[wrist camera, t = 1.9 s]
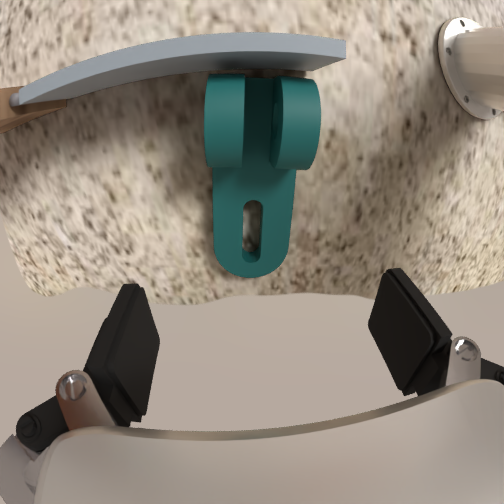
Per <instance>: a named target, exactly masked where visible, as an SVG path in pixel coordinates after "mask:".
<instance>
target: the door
mask: <svg viewBox="0 0 504 504" xmlns="http://www.w3.org/2000/svg"><path fill="white" fill-rule="evenodd" d="M343 59H346V41H345V40H339V39H333V38H326V37H319V36H310V35H300V34H287V33H264V32H242V33H219V34H206V35H196V36H188V37H180V38H173V39H167V40H161V41H156V42H151V43H146V44H141V45H137V46H133V47H129V48H125V49H121V50H117V51H113V52H110V53H107V54H103V55H100V56H97V57H94V58H91V59H88V60H85V61H82V62H79V63H77V64H74V65H71V66H69V67H66V68H64V69H61V70H59V71H56V72H54V73H52V74H49V75H47V76H45V77H43V78H41V79H39V80H36V81H34V82H32V83H30V84H28V85H26V86H24V87H23V88H21V89H19V93H13V94H12V95H11V96H10V99H9V105H10V106H11V107H13V106H19V105H24V104H30V103H37V102H44V101H53V100H62V99H69V98H75V97H78V96H81V95H84V94H88V93H91V92H94V91H98V90H101V89H105V88H109V87H113V86H117V85H121V84H125V83H130V82H135V81H139V80H145V79H150V78H156V77H162V76H168V75H175V74H183V73H191V72H201V71H213V70H230V69H285V70H302V71H314V70H316V69H319V68H321V67H324V66H327V65H329V64H332V63H335V62H338V61H340V60H343Z"/></svg>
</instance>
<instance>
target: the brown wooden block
mask: <svg viewBox="0 0 504 504" xmlns="http://www.w3.org/2000/svg"><path fill="white" fill-rule="evenodd" d="M23 87H24V86H20V87H10V88H2V89H0V134H1V133H4V132H7V131H9V130H11V129H13V128H15V127H17V126H19V125H21V124H24V123H26V122H28V121H31V120H33V119H35V118H38V117H40V116H43V115H45V114H48V113H51V112H53V111H56V110H59V109H62V108H65V107H66V99H62V100H53V101H44V102H37V103H30V104H24V105H19V106H13V107H11V106H10V105H9V99H10V96H11V95H12V94H13V93H19V89H21V88H23Z"/></svg>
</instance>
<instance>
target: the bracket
mask: <svg viewBox="0 0 504 504" xmlns="http://www.w3.org/2000/svg"><path fill="white" fill-rule="evenodd" d="M320 126H321V105H320V96H319V91H318V88H317V85H316V83H315V82H314V80H312V79H306V78H298V77H288V76H277V77H275V78H274V79H269V78H248V77H245V74H209V77H208V80H207V86H206V94H205V108H204V143H205V155H206V162H207V166H208V167H212V181H213V232H214V251H215V255H216V258H217V260H218V261H219V263H220V264H221V265H222V267H223V268H225V269H226V270H227V271H229V272H230V273H232V274H234V275H237V276H240V277H246V278H255V277H261V276H264V275H267V274H269V273H271V272H272V271H274V270H275V269H277V268H278V267H279V266H280V265H281V264H282V262H283V261H284V259H285V257H286V255H287V252H288V247H289V238H290V229H291V219H292V210H293V200H294V190H295V179H296V170H308V169H309V168H310V166H311V165H312V163H313V161H314V158H315V155H316V151H317V147H318V142H319V136H320ZM250 200H257V201H259V202H260V203H261V217H260V235H259V247H258V248H257V250H255V251H253V252H247V251H245V250H244V249H243V248H242V240H243V208H244V205H245V204H246V203H247V202H248V201H250Z"/></svg>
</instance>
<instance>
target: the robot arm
mask: <svg viewBox="0 0 504 504" xmlns="http://www.w3.org/2000/svg"><path fill="white" fill-rule="evenodd" d="M438 52H439V58H440V64H441V67H442V71H443V74H444V77H445V79H446V82H447V84H448V86H449V88H450V90H451V92H452V94H453V96H454V97H455V99H456V100H457V102H458V103H459V104H460V105H461V106H462V108H463V109H464V110H466V111H467V112H468V113H469V114H471V115H473V116H474V117H477V118H481V119H486V120H490V119H494V118H495V117H497V116H498V115H499V114H500V113H501V112H502V111H504V27H486V28H483V27H482V26H480V25H479V24H478V23H476V22H475V21H473V20H471V19H468V18H465V17H456V18H452V19H449V20H448V21H446V22H445V23H444V25H443V26H442V28H441V31H440V33H439V40H438ZM368 327H369V330H370V332H371V334H372V336H373V338H374V340H375V342H376V344H377V346H378V348H379V350H380V352H381V354H382V356H383V358H384V360H385V362H386V364H387V367H388V369H389V371H390V373H391V375H392V377H393V379H394V382H395V384H396V386H397V388H398V389H399V390H402V393H403V395H404V396H406V395H410V394H413V393H415V392H416V393H417V395H418V396H417V397H415V398H412V399H409V400H406V401H403V402H400V403H396V404H393V405H390V406H386V407H383V408H379V409H376V410H372V411H368V412H364V413H360V414H356V415H351V416H347V417H343V418H337V419H333V420H328V421H322V422H316V423H310V424H303V425H296V426H289V427H281V428H271V429H260V430H246V431H245V430H244V431H217V432H216V431H215V432H214V431H213V432H210V431H209V432H208V431H207V432H205V431H172V430H155V429H144V428H131V427H129V426H130V423H131V421H133V422H141V418H142V415H146V411H147V405H148V401H149V395H150V390H151V384H152V379H153V374H154V369H155V364H156V359H157V354H158V350H159V344H160V339H159V335H158V332H157V329H156V326H155V323H154V320H153V317H152V314H151V310H150V307H149V304H148V300H147V297H146V294H145V290H144V288H143V287H140V286H139V285H138V284H123V286H122V287H121V289H120V291H119V294H118V296H117V298H116V300H115V302H114V304H113V306H112V308H111V311H110V313H109V315H108V317H107V318H106V319H105V320H104V322H103V324H102V326H101V328H100V330H99V333H98V335H97V337H96V340H95V342H94V345H93V347H92V349H91V352H90V354H89V357H88V359H87V362H86V364H85V367H84V369H83V371H80V370H72V371H69V372H67V373H66V374H64V375H63V376H62V377H61V378H60V379H59V380H58V382H57V385H56V389H55V391H56V396H54V397H52V398H51V399H49V400H47V401H46V402H44V403H42V404H40V405H39V406H37V407H35V408H34V409H32V410H30V411H28V412H27V413H25V414H24V415H22V416H21V417H20V419H19V420H18V422H17V425H16V436H14V435H13V434H12V435H11V436H10V437H9V438H8V439H7V440H6V441H5V443H4V444H3V445H2V446H1V447H0V495H1V497H2V498H3V500H4V501H5V503H6V504H504V367H502V366H500V365H497V364H495V363H492V362H490V361H487V360H485V359H483V358H481V352H480V349H479V347H478V346H477V344H476V343H475V342H474V341H473V340H471V339H469V338H467V337H457V338H455V339H454V340H453V341H452V340H451V339H450V338H451V336H452V333H451V331H450V330H449V328H448V327H447V326H446V324H445V323H444V322H443V320H442V319H441V317H440V316H439V315H438V313H437V312H436V311H435V310H434V308H433V307H432V306H431V304H430V303H429V302H428V300H427V299H426V298H425V297H424V295H423V294H422V293H421V292H420V290H419V289H418V288H417V287H416V285H415V284H414V283H413V282H412V281H411V279H410V278H409V277H408V276H407V275H406V273H405V272H404V271H403V270H402V269H401V268H394V269H388V270H387V271H386V272H385V273H384V274H383V275H382V278H381V282H380V285H379V289H378V292H377V296H376V299H375V302H374V306H373V309H372V312H371V315H370V319H369V321H368Z"/></svg>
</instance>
